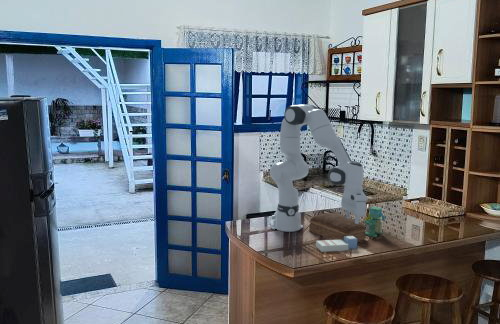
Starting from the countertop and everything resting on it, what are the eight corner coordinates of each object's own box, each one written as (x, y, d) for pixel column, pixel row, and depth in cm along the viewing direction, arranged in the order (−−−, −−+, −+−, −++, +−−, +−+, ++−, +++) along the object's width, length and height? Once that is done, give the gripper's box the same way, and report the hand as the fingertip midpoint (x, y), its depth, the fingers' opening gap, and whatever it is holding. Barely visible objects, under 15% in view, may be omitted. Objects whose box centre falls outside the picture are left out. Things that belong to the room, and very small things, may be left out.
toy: (369, 230, 257) (370, 205, 255) (386, 234, 251) (388, 208, 249) (362, 234, 249) (363, 208, 247) (379, 238, 243) (381, 211, 241)
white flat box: (315, 246, 228) (316, 240, 227) (341, 244, 231) (341, 239, 230) (321, 251, 220) (322, 245, 220) (348, 250, 223) (348, 244, 223)
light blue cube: (343, 245, 230) (343, 235, 229) (352, 245, 231) (352, 235, 230) (347, 249, 225) (348, 238, 224) (356, 248, 226) (357, 238, 225)
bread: (328, 226, 264) (329, 207, 262) (367, 240, 240) (368, 219, 238) (306, 230, 254) (307, 211, 253) (345, 246, 230) (346, 224, 229)
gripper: (338, 189, 233) (337, 215, 235) (356, 198, 213) (355, 226, 215) (350, 189, 234) (348, 215, 236) (368, 198, 214) (367, 226, 216)
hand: (351, 220), depth 225 cm, fingers open, 8 cm apart
